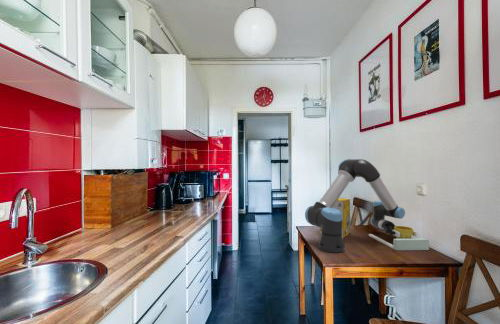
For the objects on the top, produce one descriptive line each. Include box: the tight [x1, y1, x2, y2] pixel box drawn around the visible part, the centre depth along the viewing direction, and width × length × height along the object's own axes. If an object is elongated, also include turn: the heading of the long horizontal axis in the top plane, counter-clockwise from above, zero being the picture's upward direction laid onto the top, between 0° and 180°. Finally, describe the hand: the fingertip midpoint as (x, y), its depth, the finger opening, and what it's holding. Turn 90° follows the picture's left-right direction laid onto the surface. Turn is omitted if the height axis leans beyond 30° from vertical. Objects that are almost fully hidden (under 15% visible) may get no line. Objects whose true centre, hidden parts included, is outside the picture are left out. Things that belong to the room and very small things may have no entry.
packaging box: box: [319, 197, 351, 239], centre depth 192 cm, size 16×16×25 cm
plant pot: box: [394, 225, 414, 239], centre depth 166 cm, size 10×10×10 cm
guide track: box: [368, 233, 430, 251], centre depth 173 cm, size 32×20×6 cm, turn 4°
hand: (408, 234), depth 161 cm, fingers closed on plant pot, 10 cm apart
